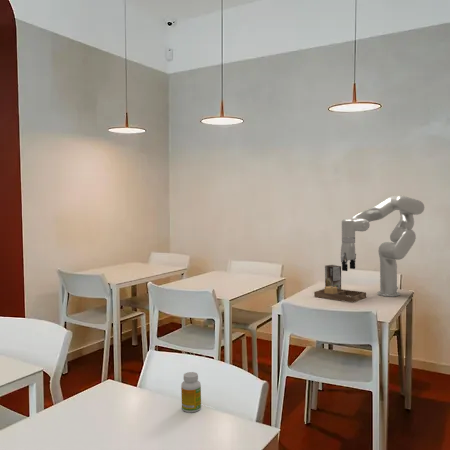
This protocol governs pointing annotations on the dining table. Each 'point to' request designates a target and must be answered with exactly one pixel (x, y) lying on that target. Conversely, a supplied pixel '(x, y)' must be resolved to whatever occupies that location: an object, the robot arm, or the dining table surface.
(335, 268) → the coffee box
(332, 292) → the marked cube
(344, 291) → the organiser
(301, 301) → the dining table surface
